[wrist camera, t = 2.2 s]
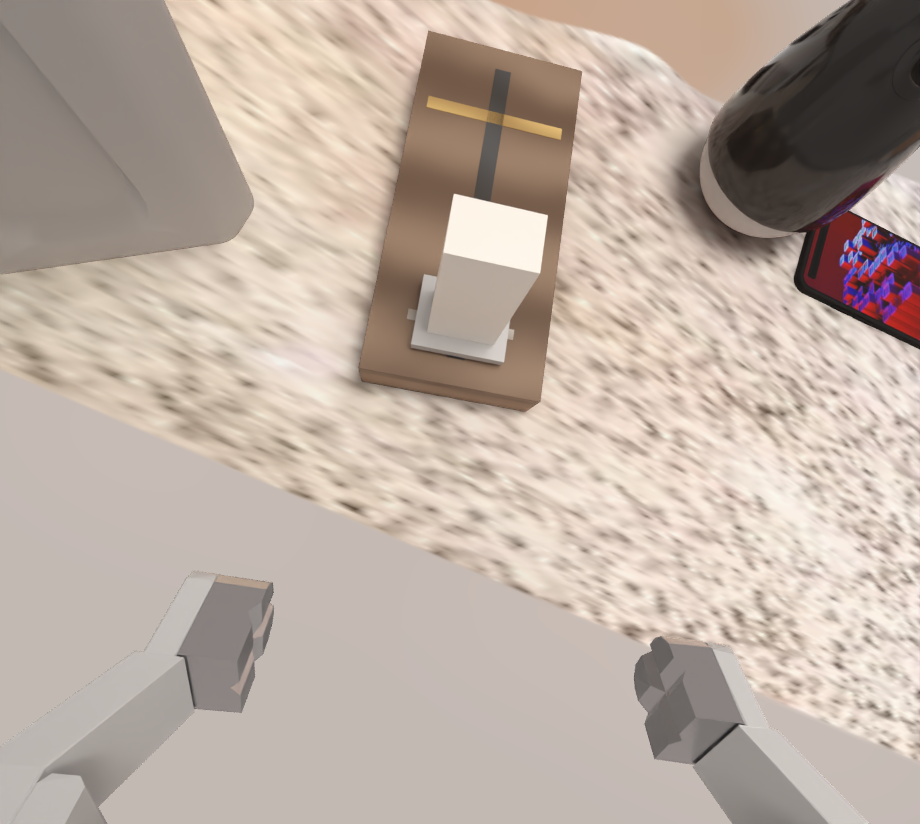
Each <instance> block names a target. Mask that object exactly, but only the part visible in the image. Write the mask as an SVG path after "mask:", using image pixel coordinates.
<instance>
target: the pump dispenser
mask: <svg viewBox="0 0 920 824" xmlns="http://www.w3.org/2000/svg"><path fill="white" fill-rule="evenodd" d="M919 147H920V0H850V1H848V2H847V3H845V4H844V5H842V6H841V7H839V8H838V9H837V10H835V11H834V12H832V13H831V14H829V15H828V16H827V17H825V18H824V19H822V20H821V21H820V22H818V23H817V24H816V25H814V26H813V27H811V28H810V29H809V30H807V31H806V32H805V33H803V34H802V35H801V36H800V37H798V38H797V39H796V40H794V41H793V42H792V43H791V44H789V45H788V46H787V47H786V48H784V49H783V50H782V51H781V52H780V53H778V54H777V55H776V56H775V57H774V58H772V59H771V60H770V61H769V62H768V63H767V64H766V65H764V66H763V67H762V68H761V69H760V70H759V71H758V72H757V73H756V74H754V75H753V76H752V77H751V78H750V79H749V80H748V81H747V82H746V83H745V84H744V85H742V86H741V87H740V88H739V89H738V90H737V91H736V92H735V93H734V94H733V96H732V97H731V98H730V99H729V100H728V101H727V102H726V103H725V104H724V106H723V107H722V108H721V109H720V111H719V112H718V113H717V115H716V117H715V118H714V120H713V122H712V125H711V128H710V131H709V136H708V139H707V141H706V144H705V146H704V149H703V153H702V157H701V162H700V183H701V188H702V192H703V195H704V198H705V200H706V202H707V204H708V206H709V207H710V209H711V210H712V212H713V213H714V214H715V215H716V216H717V217H718V218H719V219H720V220H721V221H722V222H723V223H724V224H726V225H727V226H729V227H730V228H732V229H734V230H736V231H738V232H740V233H743V234H746V235H749V236H754V237H761V238H775V237H783V236H788V235H793V234H796V233H802V232H809V231H813V230H816V229H819V228H822V227H824V226H826V225H828V224H829V223H831V222H833V221H834V220H836V219H837V218H839V217H840V216H842V215H843V214H845V213H846V212H847V211H849V210H850V209H851V208H853V207H854V206H855V205H856V204H858V203H859V202H860V201H861V200H862V199H864V198H865V197H866V196H867V195H868V194H870V193H871V192H872V191H873V190H874V189H875V188H877V187H878V186H879V185H880V184H881V183H882V182H883V181H885V180H886V179H887V178H888V177H889V176H890V175H891V174H892V173H893V172H894V171H896V170H897V168H899V167H900V166H901V165H902V164H903V163H904V162H905V161H906V160H907V159H908V158H909V157H910V156H911V155H912V154H913V153H914V152H915V151H916V150H917V149H918V148H919Z"/></svg>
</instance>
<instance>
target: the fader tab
mask: <svg viewBox="0 0 920 824" xmlns="http://www.w3.org/2000/svg"><path fill="white" fill-rule="evenodd" d="M547 219H548V215H545V214H540V213H536V212H532V211H527V210H523V209H518V208H514V207H510V206H505V205H501V204H497V203H492V202H488V201H484V200H479V199H475V198H471V197H466V196H462V195H458V194H454V196H453V200H452V205H451V210H450V215H449V220H448V225H447V230H446V235H445V240H444V245H443V250H442V255H441V260H440V265H439V270H438V275H437V277H435V276H431V275H426V274H424V277H423V282H422V288H421V293H420V298H419V304H418V309H417V315H416V320H415V325H414V331H413V336H412V341H411V348H415V349H420V350H425V351H430V352H436V353H441V354H446V355H451V356H456V357H461V358H466V359H472V360H477V361H482V362H487V363H492V364H497V365H502V364H503V363H504V359H505V352H506V345H507V338H508V331H509V324H510V319H511V318H512V316H513V315H514V313H515V311H516V310H517V308H518V307H519V305H520V304H521V302H522V301H523V299H524V298H525V296H526V295H527V293H528V291H529V290H530V288H531V287H532V285H533V284H534V282H535V281H536V279H537V278H538V276H539V275H540V271H541V263H542V256H543V248H544V241H545V233H546V226H547Z"/></svg>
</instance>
